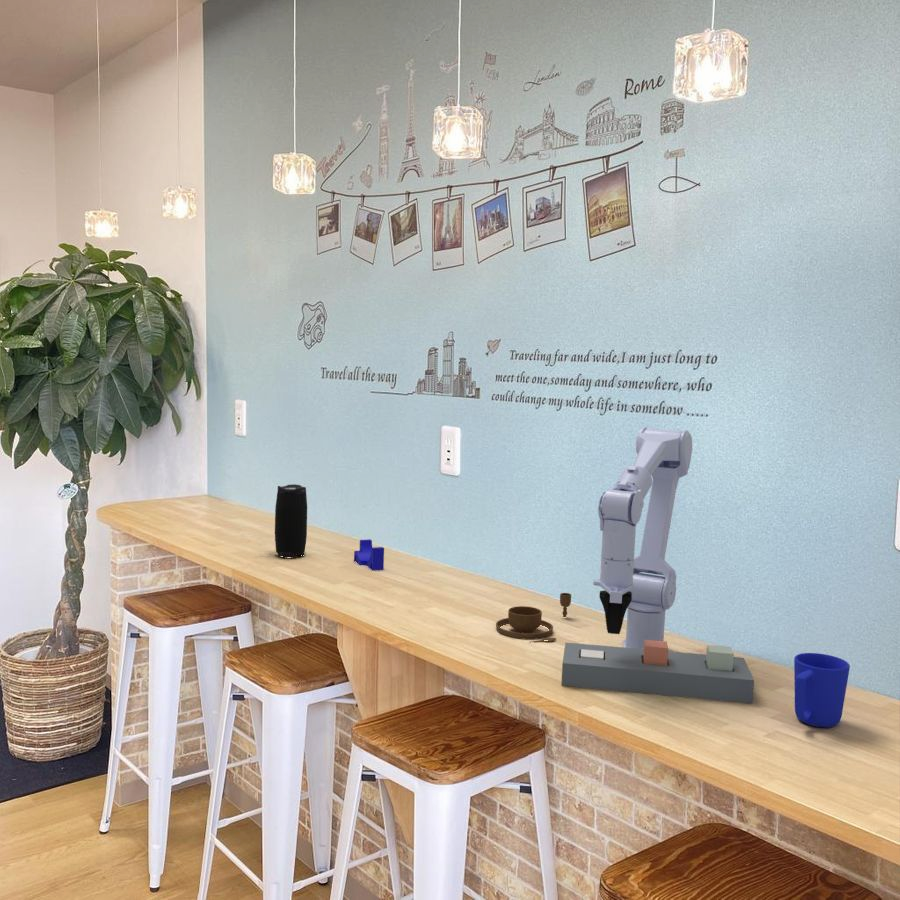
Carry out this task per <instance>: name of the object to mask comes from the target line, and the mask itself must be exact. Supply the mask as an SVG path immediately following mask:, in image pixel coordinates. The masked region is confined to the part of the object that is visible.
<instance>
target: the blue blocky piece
mask: <svg viewBox="0 0 900 900" xmlns="http://www.w3.org/2000/svg"><path fill="white" fill-rule="evenodd" d="M384 560H385V548H384V547H383V546H375V547H374V546H373V541H372V539H371V538H368V539H359V550H354V551H353V561H354V562H355V561H356V562H357V563H358V564H357V563H356V562H355V563H356V564H357V565H359V566H360V565H366V566H365V567H367V566H368V567H367V568H369V569H370V570H371V569H372V570H371V571H384V567H385V566H384V565H385V561H384Z"/></svg>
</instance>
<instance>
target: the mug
mask: <svg viewBox="0 0 900 900" xmlns="http://www.w3.org/2000/svg"><path fill="white" fill-rule="evenodd" d="M793 659H794V660H793V662H794V666H793V667H794V668H793V670H794V671H793V672H794V673H793V676H794V677H793V678H794V679H793V680H794V713H795V717H796V718H797V719H798V720H799V721H801V722H802V723H805V724H807V725H810V726H813V727H817V728H832V727H836V726H837V725H838V724H839V723H840V722H841V719H842V715H843V709H844V704H845V700H846V699H845V697H846V692H847V686H848V681H849V675H850V668H851V665H850V663H849V662H847V661H846V660H845V659H842V658H840V657H838V656H835V655H834V656H833V655H829V654H825V653H817V652H816V653H815V652H805V653H804V652H803V653H799V654H796V655H795V656H794V658H793Z"/></svg>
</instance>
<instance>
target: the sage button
mask: <svg viewBox="0 0 900 900" xmlns="http://www.w3.org/2000/svg"><path fill="white" fill-rule="evenodd" d="M733 657H735V656H734V651H733V649H732V647H731V646H726V645H725V646H724V645H723V646H722V645H713V644H707V645H706V668H707V669H712V670H723V671H733Z"/></svg>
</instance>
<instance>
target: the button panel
mask: <svg viewBox="0 0 900 900" xmlns="http://www.w3.org/2000/svg"><path fill="white" fill-rule="evenodd" d="M581 649H584V650H595V651H604V657H603V660H599V659H587V658H581ZM706 655H707V653H706V654H704V653H692V652H681V651H680V652H679V651H669V650H668V661H667V666H666V665H655V664H644V663H643V649H636V648H624V647H623V646H622V647H621V646H611V645H598V644H589V643H587V644H586V643H576V642H565V643H564V650H563V658H562V667H561V668H562V669H561V686H565V687H575V688H584V689H585V688H586V689H595V690H606V691H615V692H616V691H619V692H629V693H637V694H648V695H649V694H650V695H661V696H670V697H682V698H693V699H703V700H711V701H721V702H722V701H725V702H734V703H746V704H753V703H754V690H755V679H754V677H753V675H752V673H751V670H750V668H749V665H748V664H747V662H746V660H745V658H744V657H742V656H741V657H739V656H738V657H737V656H734V657H733V671H723V670H712V669H707V668H706Z"/></svg>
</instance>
